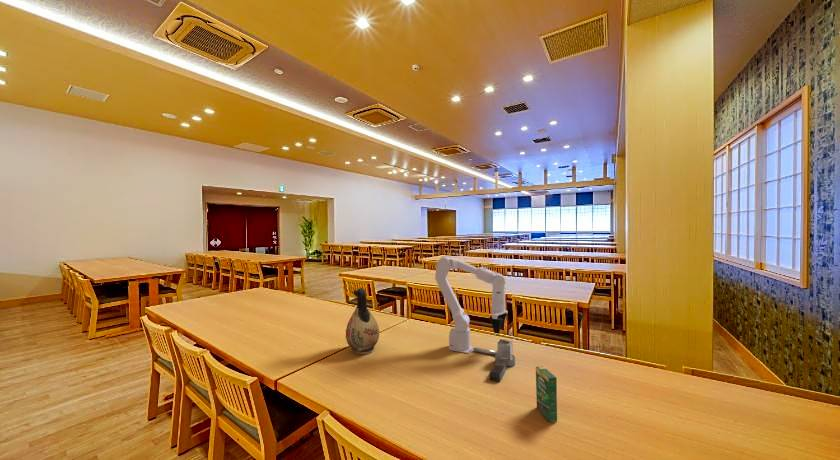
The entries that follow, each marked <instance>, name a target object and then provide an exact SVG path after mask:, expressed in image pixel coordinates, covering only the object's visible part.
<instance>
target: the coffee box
mask: <svg viewBox="0 0 840 460" xmlns="http://www.w3.org/2000/svg"><path fill="white" fill-rule="evenodd" d="M557 386H558V385H557V376H555V374H553V373H552V372H551V371H550V370H548V369H547V368H546V367H545V366H539V365H538V366H535V388H536V391H535V393H536V408H537V409H538V410H539V412H540V413H541V414H542V415H543V416H544V418H545V420H546V421H548V423H556V422H558V400H557V399H558V397H557V396H558V395H557V392H558V389H557Z"/></svg>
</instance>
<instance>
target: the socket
mask: <svg viewBox="0 0 840 460" xmlns="http://www.w3.org/2000/svg"><path fill="white" fill-rule="evenodd" d="M513 342H514V341H513V340H507V339H499V340H498V341H497V347H496V348H497V350H496V351H497V352H498V357H502V358H508V359H511V357H512V355H514V346H513V345H514V343H513Z"/></svg>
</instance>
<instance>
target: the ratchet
mask: <svg viewBox="0 0 840 460" xmlns="http://www.w3.org/2000/svg"><path fill="white" fill-rule="evenodd" d="M494 363H495V364H494V365H493V366H492V368H491V370H490V371H489V381H492V382H497V383H501V381H502V379H503V377H504V376H505V374H506V371H507V370H508V369H510V368H514V367H515V366H516V356H515V355H514V354H513V355H512V357H511V359H508V358H502V357H498V353H497V354H495V355H494Z"/></svg>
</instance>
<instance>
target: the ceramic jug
mask: <svg viewBox="0 0 840 460" xmlns="http://www.w3.org/2000/svg"><path fill="white" fill-rule="evenodd" d="M353 296H355V297H356V300H357V304H356V307H355V309H354V311H353V313H352V314H351V317H350V318H349V320H348V322H347V325H346V329H345V340H346V343H347V345H348V346H349V347H350V348H351V349H352V350H353V352H354V354H356V355H368V354H369V353H372V352H374V349H375V346H376V344H377V343H378V341H379V338H380V327H379V324H378V322H377V320H376V318H375V316H374V315H373V314H372V312H370V310H369V309H368V308H367V307H368V306H367V303H368V302H367V300H368V299H367V293H366V291H365V288H363V287H358V289H354V290H353Z"/></svg>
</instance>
